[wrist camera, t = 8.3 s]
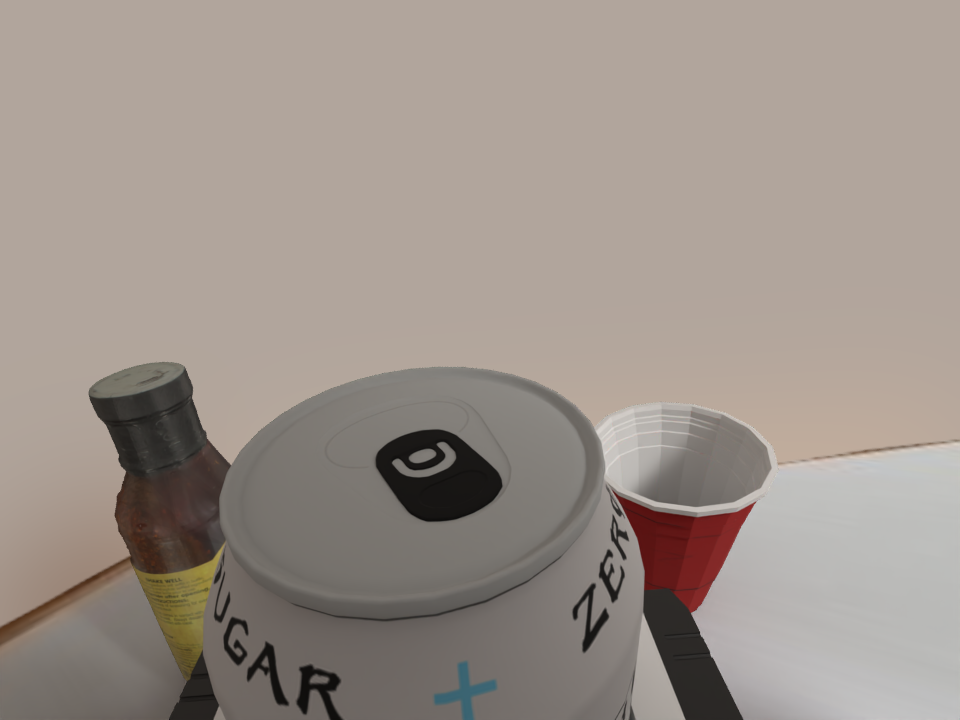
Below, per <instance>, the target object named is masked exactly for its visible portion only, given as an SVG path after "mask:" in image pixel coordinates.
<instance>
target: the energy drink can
mask: <svg viewBox="0 0 960 720" xmlns="http://www.w3.org/2000/svg"><path fill="white" fill-rule="evenodd" d="M604 474H605V460H604V455H603V449H602V443H601V440H600V439H599V437H598V435H597V433H596V431H595V429H594V427H593V425H592V423H591V422H590V420H589V419H588V418H587V417H586V416H585V415H584V414H583V413H582V412H581V411H580V410H579V409H578V407H577V406H576V405H574V404H573V403H572V402H570V401H569V400H567V399H566V398H565V397H563V396H562V395H560V394H559V393H558V392H556V391H554V390H551V389H549V388H547V387H545V386H543V385H541V384H539V383H537V382H534V381H531V380H528V379H525V378H522V377H519V376H516V375H512V374H507V373H502V372H497V371H492V370H486V369H477V368H466V367H430V368H416V369H407V370H401V371H394V372H389V373H382V374H379V375H374V376H370V377H366V378H362V379H358V380H355V381H352V382H349V383H346V384H343V385H340V386H337V387H334V388H331V389H329V390H327V391H324V392H322V393H320V394H318V395H316V396H313V397H311V398H309V399H307V400H305V401H303V402H301V403H299V404H298V405H296V406H294V407H293V408H291V409H289V410H288V411H286V412H284V413H282V414H281V415H280V416H278V417H277V418H276V419H274V420H273V421H272V422H270V423H269V424H268V425H266V426H265V427H264V428H263V429H261V430H260V431H259V432H258V433H257V434H256V435H255V436H254V437H253V438H252V439H251V440H250V442H248V444H246V446H245V447H244V448H243V449H242V450H241V451H240V453H239V454H238V456H237V458H236V459H235V461H234V462H233V464H232V465H231V467H230V469H229V470H228V472H227V474H226V478H225V481H224V484H223V487H222V491H221V494H220V497H219V508H220V525H221V529H222V531H223V534H224V536H225V539H226V542H225V544H224V547H223V550H222V553H221V555H220V558H219V561H218V564H217V567H216V570H215V573H214V576H213V580H212V584H211V588H210V591H209V595H208V599H207V602H206V606H205V611H204V618H203V656H204V659H205V663H206V667H207V670H208V674H209V677H210V681H211V684H212V688H213V692H214V695H215V697H216V699H217V701H218V704H219V706H220V708H221V710H222V713H223V715H224V717H225V719H226V720H629V716H630V708H631V701H632V693H633V685H634V677H635V669H636V662H637V654H638V646H639V638H640V630H641V623H642V615H643V602H644V574H645V571H644V567H643V562H642V558H641V553H640V549H639V544H638V540H637V537H636V535H635V533H634V531H633V529H632V527H631V525H630V522H629V520H628V518H627V516H626V514H625V512H624V510H623V508H622V506H621V504H620V503H619V501H618V499H617V498H616V496H615V495H614V493H613V491H612V490H611V488H610V487H609V485H608V484H607V482H606V480H605V479H604Z"/></svg>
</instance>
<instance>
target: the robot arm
mask: <svg viewBox="0 0 960 720" xmlns="http://www.w3.org/2000/svg"><path fill="white" fill-rule="evenodd" d="M169 720H226V719H225V717H224V715H223V713H222V710H221V708H220V706H219V704H218V701H217V699H216V697H215V695H214V692H213V688H212V684H211V681H210V677H209V674H208V670H207V667H206V663H205V659H204V656H203V650H202V652H201V654H200V656H199V658H198V660H197V662H196V665H195V667H194V669H193V671H192V673H191V678H190V680H188V681H187V683H186V685H185V687H184V689H183V691H182V693H181V695H180V701H179V703H177V704H176V706H175V708H174V710H173V712H172V714H171V716H170V718H169ZM629 720H743V718H742V716H741V714H740V712H739V710H738V708H737V706H736V704H735V702H734V700H733V698H732V696H731V694H730V692H729V690H728V688H727V686H726V684H725V682H724V680H723V678H722V676H721V674H720V672H719V669H718V667H717V665H716V663H715V661H714V659H713V658H711V656H710V651H709V649H708V647H707V645H706V643H705V641H704V639H703V637H701V635H700V631H699V629H698V627H697V625H696V623H695V621H694V619H693V617H692V615H691V613H690V611H689V609H688V608H687V607H686V605H685V604H684V603H683V602H682V601H681V600H680V599H679V598H678V597H677V596H676V595H675V594H674V593H673V592H672V591H671V590H670V589H669V588H666V589H654V590H644V602H643V615H642V623H641V630H640V638H639V646H638V654H637V662H636V669H635V677H634V685H633V693H632V701H631V708H630V716H629Z"/></svg>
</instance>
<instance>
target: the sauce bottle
mask: <svg viewBox="0 0 960 720" xmlns="http://www.w3.org/2000/svg"><path fill="white" fill-rule="evenodd" d="M192 394H193V386H192V384H191V380H190V379H189V377H188V374H187V371H186V369H185V367H184V366H183V365H181V364H178V363H172V362H171V363H169V362H159V363H149V364H143V365H139V366H135V367H131V368H128V369H124V370H122V371H119V372H117V373H114V374H112V375H110V376H107V377H105V378H103V379H101V380H99V381H98V382H96V383H95V384H94V385H93V386H92V387H91V388H90V390H89V397H90V401H91V403H92V405H93V407H94V410H95V411H96V413H97V416H98V417H99V418H100V419H101V420H102V421H103V422H104V423H105V424H106V426H107V428H108V430H109V433H110V435H111V437H112V440H113V442H114V444H115V447H116V449H117V452H118V454H119V462H120V464H121V467H123V469H125V470H126V474H125V477H124V481H123V484H122V489H121V491H120V492H119V493H118V495H117V504H116V510H115V518H116V521H117V523H118V530H119V532H120V534H121V536H122V537H123V539H124V541H125V543H126V545H127V548H128V549H129V552H130V555H131V556H132V557H131V558H130V560H131V564H132V566H133V568H134V570H135V573H136V575H137V577H138V579H139V581H140V584H141V586H142V588H143V590H144V592H145V594H146V596H147V599H148V601H149V603H150V605H151V607H152V610H153V612H154V614H155V616H156V619H157V621H158V623H159V625H160V628H161V630H162V632H163V634H164V636H165V638H166V640H167V643H168V645H169V647H170V649H171V651H172V654H173V656H174V658H175V660H176V662H177V664H178V666H179V668H180V670H181V672H182V674H183V676H184V678H185V679H186V680H187V681H188V680H190V678H191V673H192V671H193V669H194V667H195V665H196V662H197V660H198V658H199V656H200V654H201V652H202V650H203V618H204V611H205V606H206V602H207V599H208V595H209V591H210V588H211V584H212V580H213V576H214V573H215V570H216V567H217V564H218V561H219V558H220V555H221V553H222V550H223V547H224V544H225V542H226V539H225V536H224V534H223V531H222V529H221V525H220V508H219V497H220V494H221V491H222V487H223V484H224V481H225V478H226V474H227V472H228V470H229V469H230V467H231V465H230V464H229V463H228V462H227V461H226V459H224V457H223V456H222V455H221V454H220V453H219V452H218V451H217V450H216V448H215V447H214V446H213V445H212V444H211V443H210V441H209V440H208V439H207V437H206V436H207V435H206V432H205V431H204V430H203V428H202V425H201V423H200V420H199V417H198V414H197V410H196V408H195V405H194V402H193V400H192Z"/></svg>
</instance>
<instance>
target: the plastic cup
mask: <svg viewBox="0 0 960 720" xmlns="http://www.w3.org/2000/svg"><path fill="white" fill-rule="evenodd" d="M594 429H595V431H596V433H597V435H598V437H599V439H600V440H601V443H602V449H603V455H604V460H605V474H604V479H605V480H606V482H607V484H608V485H609V487H610V488H611V490H612V491H613V493H614V495H615V496H616V498H617V499H618V501H619V503H620V504H621V506H622V508H623V510H624V512H625V514H626V516H627V518H628V520H629V522H630V525H631V527H632V529H633V531H634V533H635V535H636V537H637V540H638V544H639V549H640V553H641V558H642V562H643V567H644V571H645V574H644V590H654V589H666V588H669V589H670V590H671V591H672V592H673V593H674V594H675V595H676V596H677V597H678V598H679V599H680V600H681V601H682V602H683V603H684V604H685V605H686V607H687V608H688V609H689V611H690V613H692V612H693V611H695V610H697V608H698V606H700V605H701V604H702V602H703V600H704V598H705V597H706V595H707V593H708V591H709V589H710V587H711V585H712V582H713V581H714V580H715V578H716V577H717V575H718V573H719V571H720V569H721V568H722V566H723V564H724V561H725V559H726V557H727V555H728V553H729V551H730V549H731V547H732V545H733V543H734V541H735V539H736V536H737V534H738V532H739V530H740V528H741V526H742V525H743V523H744V521H745V520H746V518H747V516H748V514H749V513H750V511H751V509H752V508H753V506H754V504H755V503H756V501H758V500H760V499H761V498H763V497H765V495H766V494H767V492H768V490H769V488H770V486H771V484H772V482H773V481H774V479H775V477H776V475H777V473H778V471H779V468H778V464H777V460H776V456H775V453H774V449H773V447H772V446H771V445H770V444H769V443H768V442H767V441H766V440H765V438H764V437H762V435H761V434H759V432H758V431H757V430H755V429H754V427H752V426H750V425H748V424H746V423H744V422H742V421H740V420H738V419H736V418H735V417H733V416H731V415H729V414H727V413H725V412H721V411H717V410H713V409H710V408H706V407H702V406H698V405H694V404H684V403H668V402H656V403H649V404H641V405H634V406H629V407H627V408H624V409H622V410H619V411H617V412H614V413H612V414H610V415H607V416H606V417H605V418H603V419H602V420H601V421H600V422H599V423H598V424H597V425H596V426H595V427H594Z"/></svg>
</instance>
